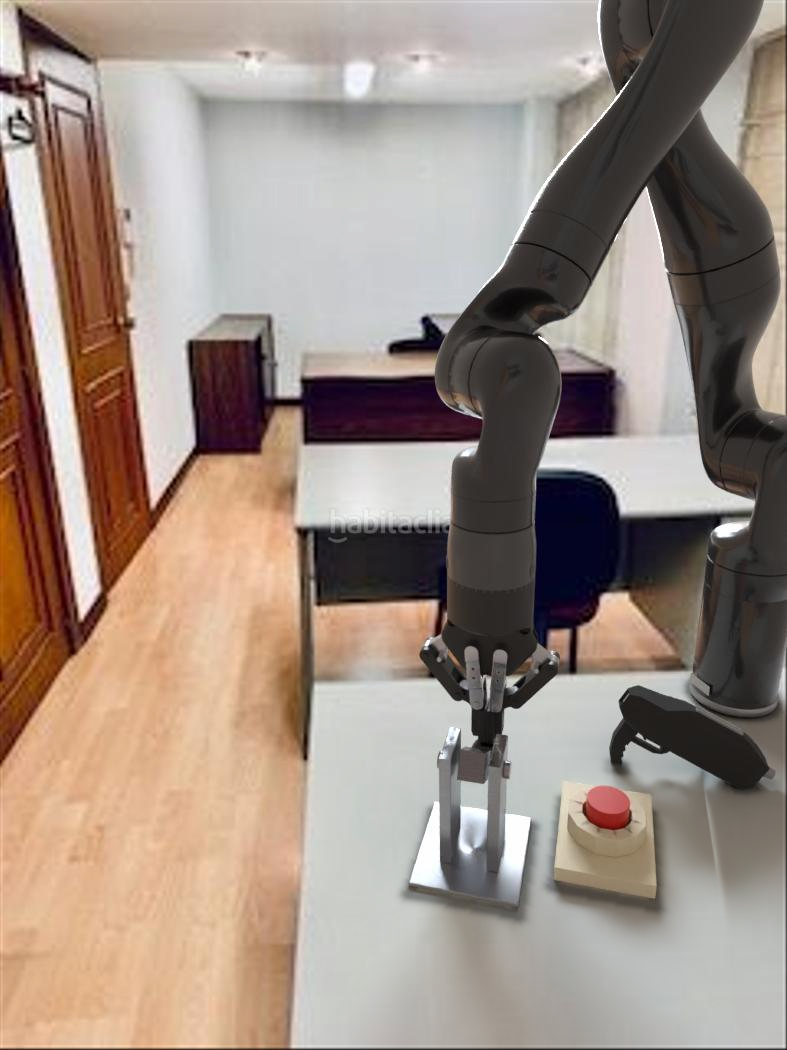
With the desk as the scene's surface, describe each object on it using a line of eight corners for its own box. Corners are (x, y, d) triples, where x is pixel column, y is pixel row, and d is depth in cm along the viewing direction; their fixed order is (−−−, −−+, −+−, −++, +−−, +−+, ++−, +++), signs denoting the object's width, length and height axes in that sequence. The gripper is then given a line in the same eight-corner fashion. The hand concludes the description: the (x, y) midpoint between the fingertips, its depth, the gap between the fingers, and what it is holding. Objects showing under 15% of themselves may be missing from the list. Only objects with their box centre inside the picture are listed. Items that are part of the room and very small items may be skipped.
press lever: (471, 766, 73) (474, 732, 74) (504, 771, 72) (507, 737, 73) (450, 784, 62) (454, 743, 62) (489, 790, 61) (493, 749, 61)
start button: (586, 798, 68) (587, 782, 67) (628, 805, 67) (629, 789, 66) (584, 826, 65) (585, 810, 64) (628, 834, 64) (630, 817, 63)
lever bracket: (435, 811, 72) (433, 705, 68) (530, 827, 70) (535, 719, 66) (408, 893, 63) (405, 777, 59) (517, 915, 61) (522, 796, 57)
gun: (729, 834, 76) (793, 766, 72) (585, 757, 76) (641, 684, 72) (723, 814, 78) (785, 747, 74) (584, 739, 78) (638, 668, 74)
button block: (561, 799, 73) (564, 765, 72) (649, 813, 71) (653, 778, 70) (553, 888, 63) (555, 850, 62) (654, 907, 61) (658, 868, 60)
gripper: (572, 558, 67) (562, 725, 73) (426, 546, 70) (427, 706, 76) (567, 594, 60) (556, 775, 66) (405, 579, 63) (408, 752, 69)
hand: (487, 738), depth 71 cm, fingers closed
